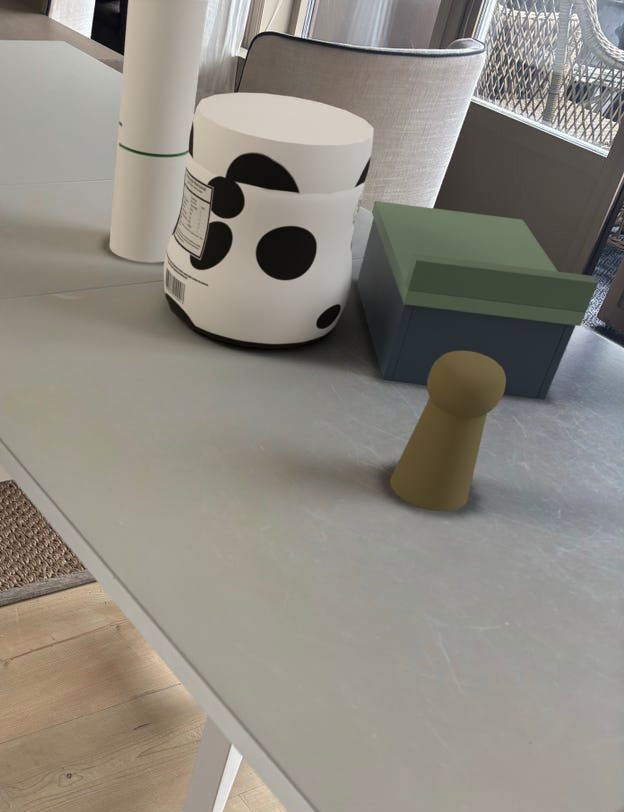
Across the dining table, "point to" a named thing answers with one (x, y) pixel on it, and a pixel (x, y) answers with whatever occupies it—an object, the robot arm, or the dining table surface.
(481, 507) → the dining table surface
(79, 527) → the dining table surface
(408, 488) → the brown pawn
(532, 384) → the bin
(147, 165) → the cylindrical container
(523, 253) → the bin lid
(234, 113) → the milk container
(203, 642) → the dining table surface
